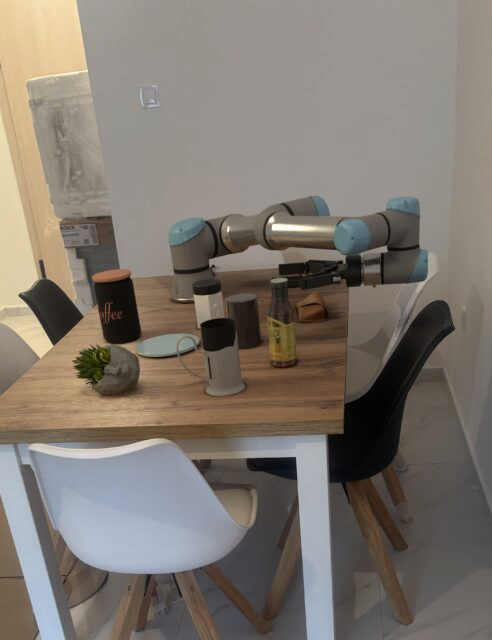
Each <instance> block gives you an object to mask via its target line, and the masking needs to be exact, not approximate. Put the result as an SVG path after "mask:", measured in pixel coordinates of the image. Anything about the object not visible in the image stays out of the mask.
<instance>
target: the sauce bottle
mask: <svg viewBox="0 0 492 640" xmlns="http://www.w3.org/2000/svg"><path fill="white" fill-rule="evenodd" d="M269 287H270V289H271V290H270V291H271V301H270V305H269V309H268V313H267V329H268V330H267V331H268V345H269V347H268V348H269V359H270V362H271V365H272V366H274V367H278V368H286V367H287V368H288V367H290V366H293V365H295V364H296V362H297V341H296V337H297V336H296V320H295V309H294V306H293V304H292V303H291V301H290V300H289V290H288V289H289V288H288V279H286V278H275V279H270V281H269Z"/></svg>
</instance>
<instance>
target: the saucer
mask: <svg viewBox="0 0 492 640" xmlns="http://www.w3.org/2000/svg"><path fill="white" fill-rule="evenodd" d="M183 336H190V337H192V338H193V339H194V340H195V342H196V345H197V347H198V346H199V345H200V341H201V339H200V338H199V337H198V336H197V335H194V334H190V333H168V334H163V335H157V336H153V337H150V338H147V339H145V340H142V341H141V342H139V343H138V344H137V345H136V346H135V352H136V353H137V354H138V355H140V356H143V357H150V358H160V357H170V356H176V355H177V350H176V344H177V341H178V340H179V339H180V338H181V337H183ZM178 350H179V354H180V355H181V354H183V353H187V352H189V351H192V350H195V346H194V342H193V341H192V339H190V338H183V339H182V340H181V341H180V342H179V345H178Z"/></svg>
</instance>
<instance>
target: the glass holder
mask: <svg viewBox="0 0 492 640" xmlns="http://www.w3.org/2000/svg"><path fill="white" fill-rule="evenodd" d="M200 328H201V329H200V335H201V342H202V350H198V346H197V345H196V342H195V340H194V339H193V338H192V337H190V336H183V337H181V338H180V339H179V340H178V341H177V344H176V350H177V354H176V355H177V358H178V360H179V362H180V363H181V365H182V367H183V368H184V369H185V370H186V371H187V372H189V373H190V374H191V375H194V376H196V377H198V378H199V379H201V380H203V381H204V382H205V386H206V389H205V393H206V394H208V395H210V396H214V397H226V396H227V397H228V396H231V395H235V394H238V393H240V392H242V391H243V390H245V388H246V387H245V384H244V382H243V378H242V368H241V360H240V349H238V340H237V333H236V330H235V321H234V320H233V319H230V318H228V317H225V318H216V319H211V320H207V321H205V322H203V323H201V324H200ZM183 338H190V339H192V341H193V342H194V346H195V348H194V351H195V352H196V353H198V354H202V356H203V364H204V372H205V378H204V377H203V376H201V375H199V374H197V373H195V372H194V371H192V370H191V369H189V368H188V367H187V366H186V365H185V363H184V361H183V360H182V357H181V353H180V354H179V350H178V345H179V342H180V341H181V340H182V339H183Z"/></svg>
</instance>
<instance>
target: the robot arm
mask: <svg viewBox="0 0 492 640" xmlns="http://www.w3.org/2000/svg"><path fill="white" fill-rule="evenodd" d="M420 224H421V206H420V200H419V199H418V198H417V197H415V196H398V197H393V198H389V199H388V200H387V201H386V207H385V210H383V211H378V212H376V213H373V214H367V215H363V216H338V215H337V216H333V215H332V216H331V212H330V208H329V206H328V204H327V202H326V200H325V199H324V198H323V197H322V196H321V195H309V196H306V197H302V198H297V199H293V200H289V201H284V202H280V203H275V204H272V205H269V206H267V207H265V208H264V209H262V211H260V212H259V213H257V214H252V215H249V216H248V215H247V216H246V215H245V214H242V213H229V214H227V215H223V216H219V217H215V218H211V219H204V218H203V217H200V216H195V217H191V218H190V217H189V218H185V219H181V220H179V221H176V222H175V223H173V224H172V225H171V226H169V228H168V245H169V250H170V256H171V262H172V269H173V279H172V287H171V292H170V293H171V301H172V302H175V303H179V304H192V303H194V304H195V302H194V294H193V289H192V284H193V283H194V282H196V281H200V280H205V279H215V278H214V275H215V272H214V271H213V269H215V268H216V265H215V264H211V266H210V260H213V259H216V258H221V257H225V256H229V255H235V254H241V253H244V252H245V251H247V250H248V249H249V248H250V247H254V246H259V245H260V246H261V247H262V248H263V249H266V250H268V251H277V252H278V251H280V252H281V251H286V250H287V249H290V248H294V249H295V248H296V249H297V248H298V249H311V250H326V251H327V250H329V251H337V252H339V253H340V254H341V255H343V256H345V260H344V259H343V260H342V259H340V260H329V259H328V260H327V259H308V260H307V261H305V262H304V261H303V262H291V263H278V265H277V266H278V276H273V277H271V278H270V280H272V279H275V278H286V279H288V289H297V288H298V289H301V291H305V290H311V289H316V288H321V287H322V288H323V287H327V286H335V285H341V284H342V281H343V280H345V285H346V287H347V288H358V287H359V288H360V287H361V286H362V284H363V286H364V287H367V286H368V287H372V288H377V286H384V285H405V284H406V285H409V284H415V283H422V282H425V281H426V280H427V279H428V277H429V276H428V275H429V252H428V250H427V249H426V248H425V249H424V248H423V249H422V248H421V246H420V226H421V225H420ZM383 247H386V250H387V251H385V252H368V251H371V250H372V251H373V250H375V249H379V248H383ZM365 252H366V253H365ZM367 252H368V253H367ZM361 254H363V256H362V255H361Z"/></svg>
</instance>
